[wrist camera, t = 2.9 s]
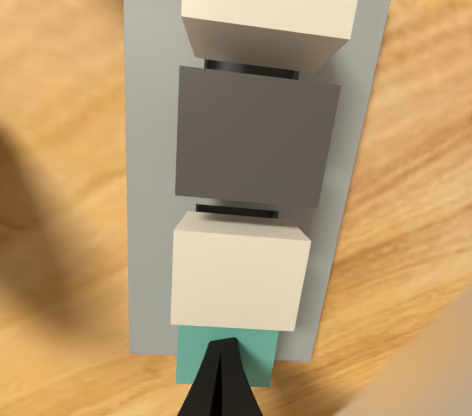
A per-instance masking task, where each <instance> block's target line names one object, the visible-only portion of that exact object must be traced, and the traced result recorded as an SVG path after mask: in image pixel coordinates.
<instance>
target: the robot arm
mask: <svg viewBox="0 0 472 416" xmlns="http://www.w3.org/2000/svg"><path fill="white" fill-rule="evenodd" d="M177 416H263V415H262V413H261V411H260V408H259V406H258V404H257V402H256V400H255V397H254V395H253V392H252V390H251V388H250V385H249V382H248V380H247V377H246V374H245V371H244V368H243V365H242V360H241V355H240V350H239V345H238V340H237V338H236V337H231V338H225V339H219V340H213V341H210V342H209V343H208V346H207V349H206V352H205V355H204V358H203V360H202V363H201V365H200V368H199V370H198V373H197V375H196V377H195V380H194V382H193V384H192V387H191V389H190V391H189V393H188V395H187V397H186V399H185V401H184V403H183V405H182V407H181V409H180V411H179V413H178V415H177Z"/></svg>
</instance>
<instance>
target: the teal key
mask: <svg viewBox="0 0 472 416" xmlns="http://www.w3.org/2000/svg"><path fill="white" fill-rule="evenodd" d="M278 334H279V331H278V330H260V329H243V328H225V327H208V326H190V325H178V347H177V370H176V383H178V384H193V382H194V380H195V377H196V375H197V373H198V370H199V368H200V365H201V363H202V360H203V358H204V355H205V352H206V349H207V346H208V343H209V342H210V341H213V340H219V339H225V338H231V337H236V338H237V340H238V345H239V350H240V355H241V360H242V365H243V368H244V371H245V374H246V377H247V380H248V382H249V385H250V387H269V386H270V380H271V375H272V369H273V363H274V357H275V352H276V346H277V340H278Z"/></svg>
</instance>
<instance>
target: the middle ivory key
mask: <svg viewBox="0 0 472 416" xmlns="http://www.w3.org/2000/svg"><path fill="white" fill-rule="evenodd" d="M310 246H311V240H310V239H309V238H308V237H307V236H306V235H305V234H304V233H303V232H302V231H301V230H300V229H299V228H298V227H297V226H296V225H295V224H294V223H293V222H292V221H291V220H285V219H274V218H262V217H251V216H239V215H228V214H216V213H205V212H193V211H187V213H186V214H185V215H184V217H183V218H182V219H181V221H180V222H179V224H178V225H177V226H176V228H175V229H174V237H173V265H172V294H171V323H170V324H173V325H190V326H208V327H225V328H243V329H260V330H278V331H294V329H295V324H296V318H297V313H298V308H299V303H300V298H301V292H302V287H303V282H304V277H305V272H306V266H307V261H308V256H309V251H310Z"/></svg>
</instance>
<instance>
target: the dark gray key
mask: <svg viewBox="0 0 472 416" xmlns="http://www.w3.org/2000/svg"><path fill="white" fill-rule="evenodd" d="M340 90H341V85H333V84H325V83H317V82H309V81H301V80H293V79H285V78H277V77H269V76H261V75H253V74H245V73H237V72H229V71H221V70H213V69H205V68H197V67H189V66H181V65H179V93H178V121H177V150H176V179H175V195H176V196H187V197H198V198H209V199H220V200H231V201H242V202H253V203H264V204H275V205H286V206H297V207H308V208H318V204H319V199H320V194H321V188H322V183H323V178H324V173H325V168H326V162H327V157H328V152H329V147H330V142H331V136H332V131H333V126H334V121H335V116H336V111H337V105H338V100H339V95H340Z"/></svg>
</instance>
